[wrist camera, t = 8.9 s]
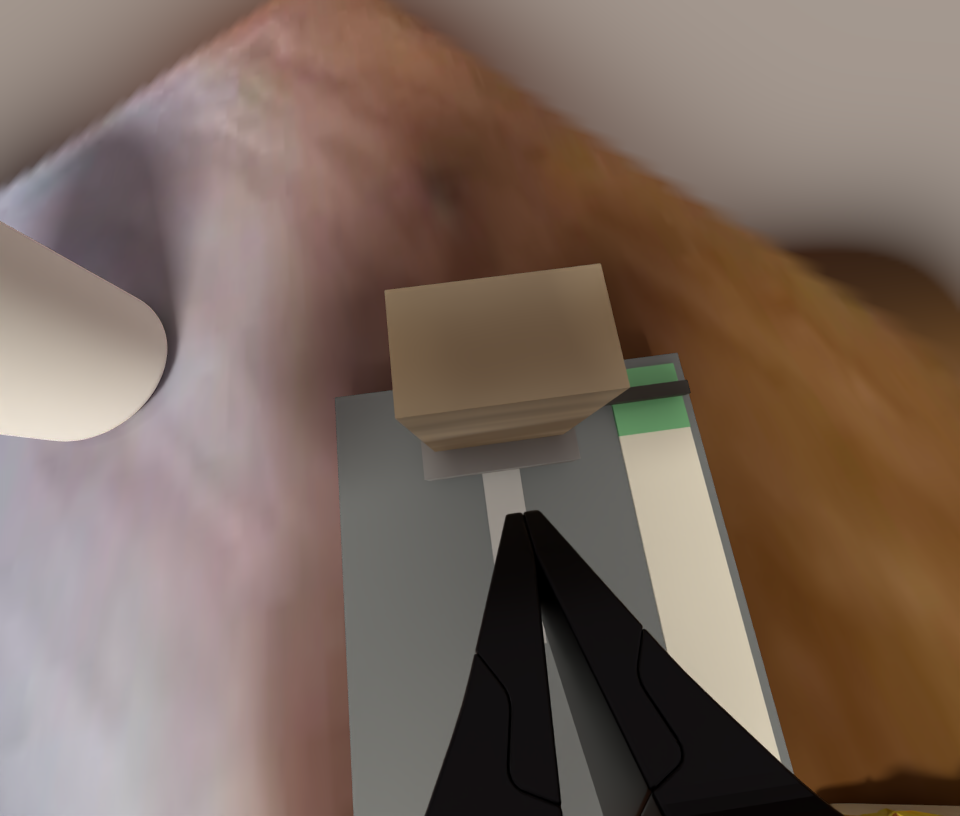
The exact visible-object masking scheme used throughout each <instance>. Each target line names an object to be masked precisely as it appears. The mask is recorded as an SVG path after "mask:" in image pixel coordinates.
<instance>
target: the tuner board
mask: <svg viewBox="0 0 960 816" xmlns="http://www.w3.org/2000/svg"><path fill="white" fill-rule="evenodd" d="M624 363H625V367H626V371H627V376H628V380H629V384H630V387H635V386H643V385H650V384H658V383H665V382H673V381H680V380H685V379H684V375H683V371H682V368H681V364H680V360H679V357H678V353H672V354H665V355H657V356H649V357H642V358H634V359H627V360H624ZM335 411H336V433H337V455H338V478H339V500H340V522H341V544H342V567H343V589H344V611H345V634H346V656H347V678H348V701H349V723H350V745H351V767H352V790H353V812H354V816H424V815H425V813H426V810H427V807H428V804H429V801H430V798H431V795H432V792H433V789H434V786H435V784H436V781H437V778H438V775H439V772H440V769H441V766H442V763H443V760H444V757H445V755H446V752H447V749H448V746H449V743H450V740H451V737H452V734H453V731H454V727H455V724H456V721H457V718H458V715H459V711H460V708H461V705H462V701H463V697H464V693H465V690H466V686H467V682H468V678H469V674H470V670H471V665H472V661H473V656H474V654H476V653H475V649H476V644H477V640H478V635H479V631H480V627H481V622H482V618H483V613H484V609H485V604H486V600H487V596H488V591H489V587H490V582H491V578H492V574H493V569H494V565H495V560H496V556H497V551H498V547H499V543H500V538H501V534H502V529H503V525H504V521H505V517H506V515H507V514H511V513H518V512H521V513H522V514H523V513H524V512H525V511H532V510H539V511H541V512H542V513H543V514H544V516H545V517H546V518H547V519H548V520H549V521H550V522H551V523H552V525H553V526H554V527H555V528H556V529H557V530H558V531H559V532H560V533H561V535H562V536H563V537H564V538H565V539H566V540H567V541H568V542H569V544H570V545H571V546H572V547H573V548H574V549H575V550H576V551H577V552H578V554H579V555H580V556H581V557H582V558H583V559H584V560H585V561H586V563H587V564H588V565H589V566H590V567H591V568H592V569H593V570H594V572H595V573H596V574H597V575H598V576H599V577H600V578H601V579H602V580H603V582H604V583H605V584H606V585H607V586H608V587H609V588H610V589H611V591H612V592H613V593H614V594H615V595H616V596H617V597H618V598H619V599H620V601H621V602H622V603H623V604H624V605H625V606H626V607H627V608H628V610H629V611H630V612H631V613H632V614H633V615H634V616H635V617H636V618H637V620H638V621H639V622H640V623H641V624H642V625H643V629H647V631H648V632H649V633H650V634H651V635H652V636H653V637H654V638H655V640H656V641H657V642H658V643H659V644H660V645H661V646H662V647H663V648H664V649H665V650H666V652H667V653H668V654H669V655H670V656H671V657H672V658H673V659H674V660H675V661H676V662H677V663H678V664H679V665H680V666H681V668H682V669H683V670H684V671H685V672H686V673H687V674H688V675H689V676H690V677H691V678H692V679H693V680H695V681H696V682H697V683H698V684H699V685H700V686H701V687H702V688H703V689H704V690H705V691H706V692H707V693H708V694H709V695H710V696H711V697H712V698H713V699H714V700H715V701H716V702H717V703H718V704H719V705H720V706H721V707H723V708H724V709H725V710H726V711H727V712H728V713H729V714H730V715H731V716H732V717H733V718H734V719H735V720H736V721H737V722H738V723H740V724H741V725H742V726H743V727H744V728H745V729H746V730H747V731H748V732H749V733H750V734H751V735H752V736H753V737H754V738H755V739H757V740H758V741H759V742H760V743H761V744H762V745H763V746H764V747H765V748H766V749H767V750H768V751H769V752H770V753H771V754H772V755H774V756H775V757H776V758H777V759H778V760H779V761H780V762H781V763H782V764H783V765H784V766H785V767H786V768H787V769H788V770H790V771H791V772H792V773H793V769H792V766H791V762H790V758H789V755H788V751H787V748H786V744H785V740H784V737H783V733H782V730H781V726H780V722H779V719H778V715H777V711H776V708H775V704H774V701H773V697H772V693H771V690H770V686H769V683H768V679H767V675H766V672H765V668H764V664H763V661H762V657H761V654H760V650H759V646H758V643H757V639H756V635H755V632H754V628H753V625H752V621H751V617H750V614H749V610H748V607H747V603H746V599H745V596H744V592H743V588H742V585H741V581H740V578H739V574H738V570H737V567H736V563H735V559H734V556H733V552H732V549H731V545H730V541H729V538H728V534H727V531H726V527H725V523H724V520H723V516H722V512H721V509H720V505H719V502H718V498H717V494H716V491H715V487H714V484H713V480H712V476H711V473H710V469H709V465H708V462H707V458H706V455H705V451H704V447H703V444H702V440H701V436H700V433H699V429H698V426H697V422H696V418H695V415H694V411H693V408H692V404H691V400H690V397H689V394H687V395H683V396H676V397H668V398H661V399H653V400H646V401H638V402H631V403H623V404H616V405H608V406H603V407H601V408H600V409H599V410H597V411H596V412H594V413H593V414H592V415H590V416H589V417H587V418H586V419H584V420H583V421H582V422H580V423H579V424H577V425H576V426H574V427H575V432H576V437H577V442H578V447H579V452H580V457H581V459H578V460H575V461H571V462H564V463H557V464H550V465H542V466H535V467H528V468H520V469H513V470H506V471H499V472H491V473H484V474H477V475H469V476H462V477H455V478H448V479H440V480H433V481H428V480H425V479H424V469H423V458H422V448H421V440H420V439H419V438H418V437H417V436H415V435H414V434H413V433H412V432H411V431H409V430H408V429H407V428H406V427H405V426H403V425H402V424H401V423H400V422H399V421H397V420H396V419H395V411H394V399H393V390H389V391H382V392H374V393H366V394H359V395H351V396H344V397H336V398H335ZM542 625H543V622H542ZM543 634H544V643H545V653H546V662H547V671H548V681H549V690H550V699H551V709H552V718H553V727H554V737H555V746H556V756H557V765H558V774H559V784H560V793H561V802H562V803H561V809H562V812H563V816H603V813H602V810H601V807H600V804H599V800H598V797H597V794H596V791H595V788H594V784H593V781H592V778H591V775H590V772H589V769H588V765H587V762H586V759H585V756H584V753H583V749H582V746H581V743H580V740H579V737H578V734H577V730H576V727H575V724H574V721H573V718H572V714H571V711H570V708H569V705H568V702H567V699H566V695H565V692H564V689H563V686H562V683H561V679H560V676H559V673H558V670H557V667H556V664H555V660H554V657H553V654H552V651H551V648H550V645H549V641H548V638H547V635H546V632H545V629H544V625H543ZM793 774H794V773H793Z"/></svg>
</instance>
